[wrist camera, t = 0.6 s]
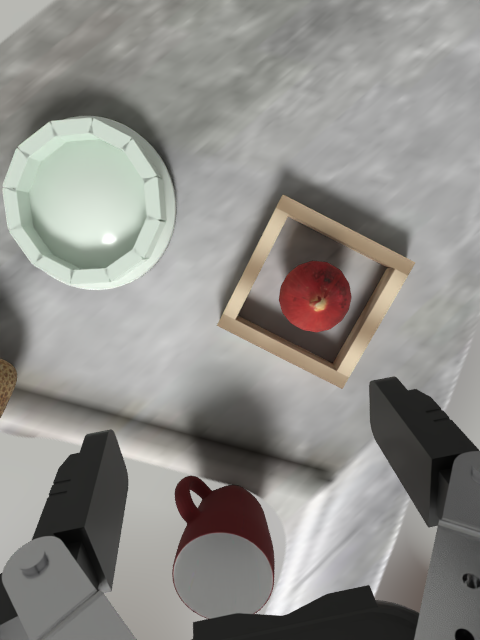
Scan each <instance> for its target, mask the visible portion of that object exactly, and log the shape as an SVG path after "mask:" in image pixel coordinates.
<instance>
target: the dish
mask: <svg viewBox="0 0 480 640" xmlns="http://www.w3.org/2000/svg"><path fill="white" fill-rule="evenodd" d="M18 147H19V149H18V148H16V151H15V153H14V156H13V159H12V161H11V164H10V167H9V170H8V172H7V175H6V178H5V180H4V183H3V187H5V188H2V191H3V198H4V205H5V212H6V219H7V226H8V229H11V230H10V231H9V232H10V234H11V235H12V236H13V238H14V239H15V241H16V242H17V243H18V245H19V246H20V248H21V249H22V250H23V252H24V253H25V255H26V256H27V257H28V259H29V260H30V262H31V263H32V264H33V265H34V264H35V265H34V266H35V267H37V268H39V269H41V270H43V271H44V272H46V273H47V274H48V275H50V276H51V277H53V278H55V279H56V280H58V281H60V282H62V283H65V284H67V285H70V286H73V287H77V288H81V289H88V290H104V289H111V288H115V287H119V286H123V285H126V284H128V283H130V282H133V281H135V280H136V279H138V278H140V277H141V276H143V275H144V274H146V273H147V272H148V271H149V270H151V269H152V267H153V266H154V265H155V264H156V263H157V262H158V261H159V260H160V258H161V257H162V255H163V254H164V252H165V251H166V249H167V247H168V245H169V243H170V240H171V238H172V235H173V231H174V227H175V222H176V213H177V209H176V195H175V189H174V185H173V182H172V178H171V176H170V174H169V171H168V169H167V167H166V165H165V163H164V162H163V160H162V158H161V157H160V155H159V154H158V153H157V151H156V150H155V149H154V148H153V147H152V146H151V145H150V144H149V143H148V142H147V141H146V140H145V139H144V138H143V137H141V136H140V135H139V134H138V133H136V132H135V131H134V130H132V129H130V128H129V127H127V126H126V125H124V124H121V123H119V122H117V121H114V120H111V119H107V118H104V117H97V116H77V117H71V118H67V119H64V120H56V121H51V122H48V123H47V124H46V125H44V126H43V127H42V128H41V129H39V130H38V131H37V132H35V133H34V134H33V135H32V136H30V137H29V138H28V139H26V140H25V141H24V142H23V143H21V144H20V145H19V146H18Z"/></svg>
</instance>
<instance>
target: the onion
mask: <svg viewBox="0 0 480 640" xmlns="http://www.w3.org/2000/svg"><path fill="white" fill-rule="evenodd" d="M279 302H280V306H281V309H282V313H283V314H284V315H285V317H286V318H287V319H288V320H289V321H290V323H292V324H293V325H295V326H297V327H299V328H300V329H302V330H307V331H313V332H320V331H324V330H328V329H331V328H332V327H334V326H335V325H336V324H338V323H339V322H341V321H342V319H343V318H344V316H345V315H346V313H347V311H348V310H349V306H350V302H351V292H350V286H349V283H348V281H347V280H346V278H345V276H344V275H343V273H342V272H341V270H339V269H338V268H336V267H334V266H333V265H331V264H329V263H328V262H320V261H310V262H307V263H304V264H301V265H298V266H297V267H296V268H294V269H293V270H292V271H291V272H290V273H289V274H287V276H286V278H285V280H284V282H283V283H282V285H281V289H280V296H279Z"/></svg>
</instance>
